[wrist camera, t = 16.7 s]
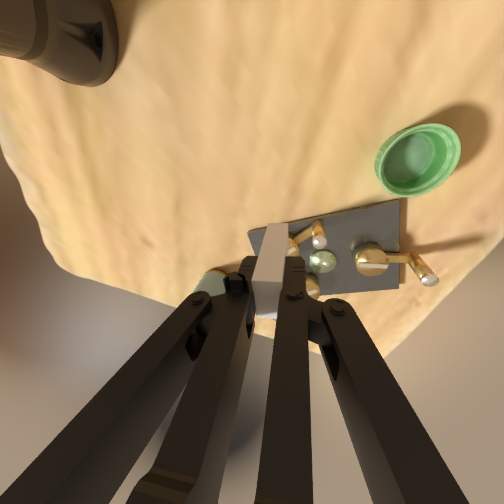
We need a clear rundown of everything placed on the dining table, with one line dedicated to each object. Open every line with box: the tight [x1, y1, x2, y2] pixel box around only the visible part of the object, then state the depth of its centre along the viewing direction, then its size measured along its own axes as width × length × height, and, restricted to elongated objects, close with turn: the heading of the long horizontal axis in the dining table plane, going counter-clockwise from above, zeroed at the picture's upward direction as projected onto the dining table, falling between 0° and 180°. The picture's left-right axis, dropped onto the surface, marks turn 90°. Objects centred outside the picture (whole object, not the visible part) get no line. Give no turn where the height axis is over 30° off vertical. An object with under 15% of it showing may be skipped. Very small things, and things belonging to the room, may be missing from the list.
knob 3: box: [353, 243, 439, 287], centre depth 35 cm, size 11×5×7 cm, turn 95°
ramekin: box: [375, 123, 461, 197], centre depth 29 cm, size 9×9×4 cm
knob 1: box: [288, 220, 327, 256], centre depth 37 cm, size 11×5×7 cm, turn 133°
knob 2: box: [273, 274, 320, 321], centre depth 43 cm, size 10×5×7 cm, turn 129°
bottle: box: [193, 270, 226, 296], centre depth 45 cm, size 7×7×15 cm
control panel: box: [247, 199, 400, 296], centre depth 41 cm, size 26×18×2 cm
